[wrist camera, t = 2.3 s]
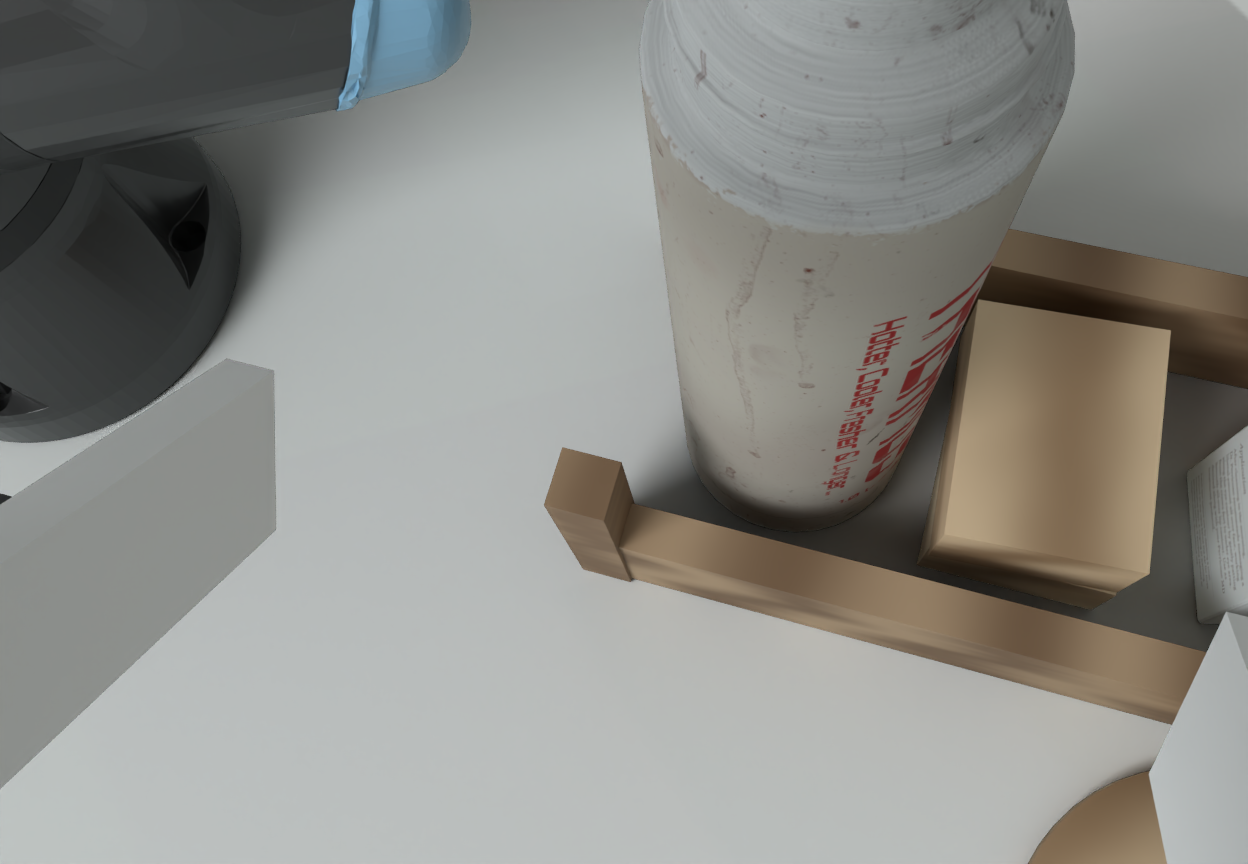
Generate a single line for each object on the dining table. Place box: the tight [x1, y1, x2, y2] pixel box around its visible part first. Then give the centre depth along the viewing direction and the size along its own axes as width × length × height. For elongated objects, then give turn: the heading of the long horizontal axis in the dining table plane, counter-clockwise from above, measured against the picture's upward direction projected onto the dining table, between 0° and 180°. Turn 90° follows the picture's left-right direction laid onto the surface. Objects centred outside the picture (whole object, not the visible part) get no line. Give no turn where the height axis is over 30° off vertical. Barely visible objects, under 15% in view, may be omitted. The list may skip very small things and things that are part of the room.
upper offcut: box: [928, 299, 1171, 593], centre depth 37 cm, size 6×8×3 cm
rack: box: [544, 229, 1248, 725], centre depth 36 cm, size 28×14×9 cm, turn 74°
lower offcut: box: [917, 417, 1117, 610], centre depth 39 cm, size 6×8×3 cm
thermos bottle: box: [639, 0, 1075, 532], centre depth 29 cm, size 8×8×28 cm
